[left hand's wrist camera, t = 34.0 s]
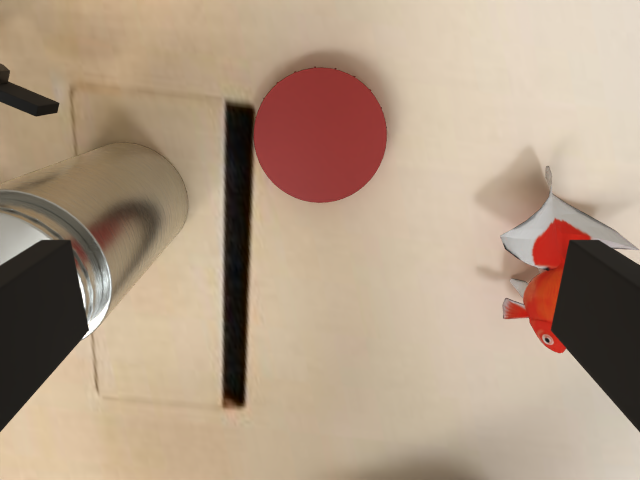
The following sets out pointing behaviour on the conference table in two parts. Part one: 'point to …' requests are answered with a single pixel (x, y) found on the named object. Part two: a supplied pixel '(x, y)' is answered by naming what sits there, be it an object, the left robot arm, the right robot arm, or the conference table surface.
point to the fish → (550, 259)
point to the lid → (320, 135)
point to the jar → (98, 217)
